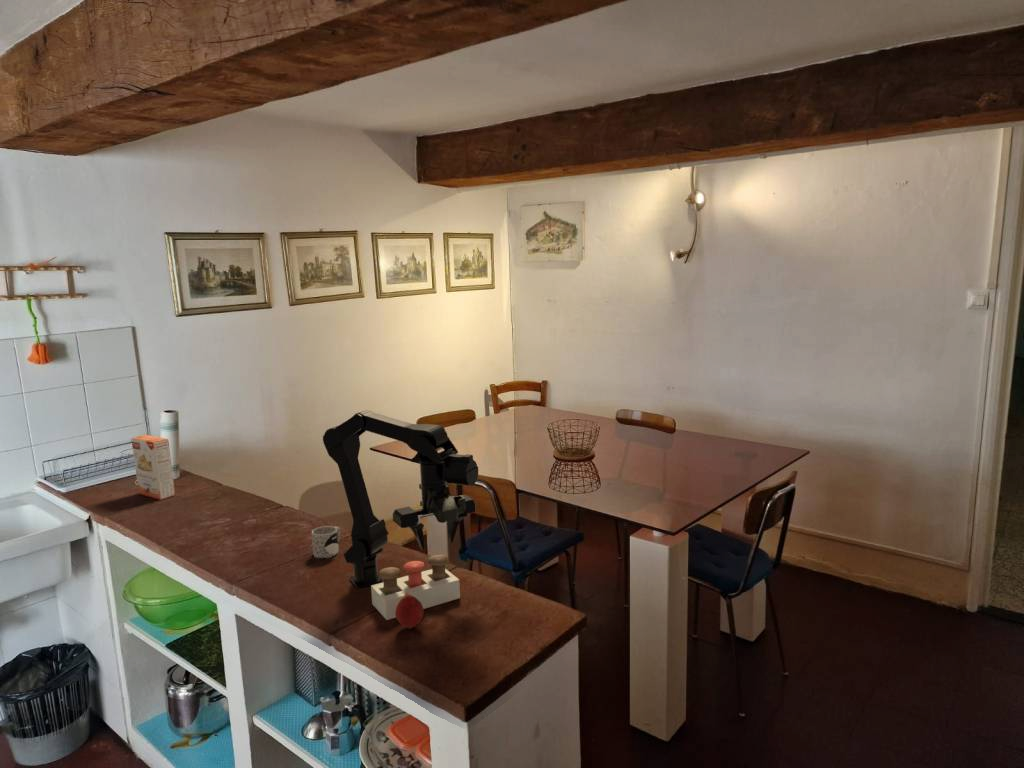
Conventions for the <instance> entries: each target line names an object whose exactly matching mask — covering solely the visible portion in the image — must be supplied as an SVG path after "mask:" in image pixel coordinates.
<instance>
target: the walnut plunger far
mask: <svg viewBox="0 0 1024 768" xmlns="http://www.w3.org/2000/svg"><path fill="white" fill-rule="evenodd" d="M448 562H449V557H448V556H447V555H445V554H434V555H431V556H429V557H428V560H427V563H428V565H430V566H431V569H432V574H433V581H439V580H442V579H446V575H445V569H446V564H448Z"/></svg>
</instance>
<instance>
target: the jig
mask: <svg viewBox="0 0 1024 768" xmlns="http://www.w3.org/2000/svg"><path fill="white" fill-rule="evenodd" d="M421 575H422V585H421V586H417V587H414V588H409V579H408V575H404V576H401V577H397V590H398V592H396V593H393V594H389V595H386V596H385V595H384V584H383V582H380V583H377V584H373V585H370V592H371V604H372V606H373V607H374V608H375V609H376V610H377V611H378V612H379V613H380V615H381V616H382V617H383V618H384V619H385V621H389V620H392V619H395V618H396V614H395V612H396V607H397V605H398V603H399V602H400V600H401V599H402V598H404V597H405V593H409V594H410V595H411V596H413V597H415V598H416V599H418V600H419V601H420V602H421V604H422V606H423V610H425V609H428V608H431V607H434V606H438V605H441V604H445V603H448V602H450V601H454V600H458V599H460V598H461V589H460V578H458V577H457V576H455V575H454V574H453V573H452V572H450V571H449V570H448V569H446V568H445V575H446V579H442V580H439V581H433V574H432V568H431V569H427V570H422V571H421Z"/></svg>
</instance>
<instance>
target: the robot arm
mask: <svg viewBox="0 0 1024 768" xmlns="http://www.w3.org/2000/svg"><path fill="white" fill-rule="evenodd" d="M366 432H369V433H372V434H376V435H380V436H382V437H386V438H389V439H392V440H396V441H398V442H401V443H404V444H406V445H407V446H408V448H410V450H412V451H415V452H416V454H415V455H414V456H413V457H412V458H411V460H410V461H411V462H412V463H418V464H419V469H420V471H419V473H420V484H418V487H419V488H418V489H419V490H421V492H420V493H421V501H420V502H419V506H421V508H420V509H415V510H414V509H413V508H411V507H410V506H406V507H401V508H396V509H394V511H393V513H392V521H393V522H394V524H396V525H398V526H399V527H400V528H401V529H405V528H409V529H410V530H411V531H412V533H413V535H414V537H415V539H416V541H417V543H418V545H419V548H420V550H422V551H425V540H424V539H425V538H424V537H425V536H424V531H423V530H424V527H425V524H423V523H422V521H421V519H422V518H426V517H431V516H434V517H435V519H436V520H437V522H438V523H439V524H440V523H442V524H444V523H446V526H447V528H446V529H447V537H448V542H449V543H450V544H453V542H454V539H455V536H456V533H457V530H458V527H459V524H460V522H461V521H462V520H463V519H464V518H466V517H467V516H468V514H472V513H475V512H476V511H477V503H476V500H474V499H473V498H471V496H469V495H466V494H461V495H456V496H454V495H453V496H451V493H450V486H449V485H447V484H452V485H459V486H468V487H469V486H470V487H473V486H474V485H475V484H476V482H477V480H478V475H479V466H478V464H477V462H476V460H474V455H473V454H459V451H458V449H457V448H456V446H455V445H454V443H453V441H451V439H450V437H449V436H448V432H447V431H446V429H445V427H443V426H442V425H440V424H433V423H431V424H430V423H419V424H417V423H411V422H407V421H403V420H400V419H397V418H394V417H389V416H387V415H383V414H379V413H376V412H374V411H372V410H371V409H370V410H369V409H366V410H362V411H360V412H359V411H358V412H357V413H354V415H353V416H351V417H350V418H348V419H347V420H345V421H344V422H342V423H341V424H339V425H336V426H333V427H330V428H328V429H326V430H325V432H324V434H323V436H322V442H323V446H324V447H325V450H326V452H327V454H328V456H329V457H330V458H331V459H332V460H333V461H334V462H335V463H336V464H337V466H338V470H339V475H340V478H341V481H342V485H343V488H344V492H345V495H346V499H347V503H348V506H349V509H350V514H351V516H352V527H351V533H350V538H351V546H350V548H349V549H347V551H345V552H344V554H343V557H344V559H345V561H346V564H347V563H348V564H353V566H352V567H353V576H349V580H350V582H351V583H352V584H353V585H354V586H355V587H356V588H357V589H361V588H366V587H368V586H372V585H375V584H379V583H383V579H381V578H380V577H379V571H378V563H377V562H378V557H377V555H378V554H381V553H382V552H383V549H384V547H385V546H386V545H387V542H388V540H389V539H388V535H389V531H388V529H387V527H386V521H385V519H384V518H381V519H379V518H378V517H377V516H375V514H374V512H373V511H374V510H373V508H372V504H371V500H370V498H369V497H370V496H369V493H368V490H367V487H366V483H365V479H364V475H363V472H362V468H361V464H360V462H359V461H360V460H359V453H360V448H361V439H360V436H362V435H363V434H364V433H366ZM440 450H442V451H440ZM439 451H440V452H439Z"/></svg>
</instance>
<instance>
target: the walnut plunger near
mask: <svg viewBox="0 0 1024 768" xmlns="http://www.w3.org/2000/svg"><path fill="white" fill-rule="evenodd" d="M378 575H379V577H380V578H381V579H383V582H382V583H383V584H384V595H385V596H386V595H389V594H393V593H396V592H398V590H397V578H399V577H400V575H401V571H400V568H398V567H394V566H391V567H389V566H388V567H383V568H382V569H380V570H379V571H378Z"/></svg>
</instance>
